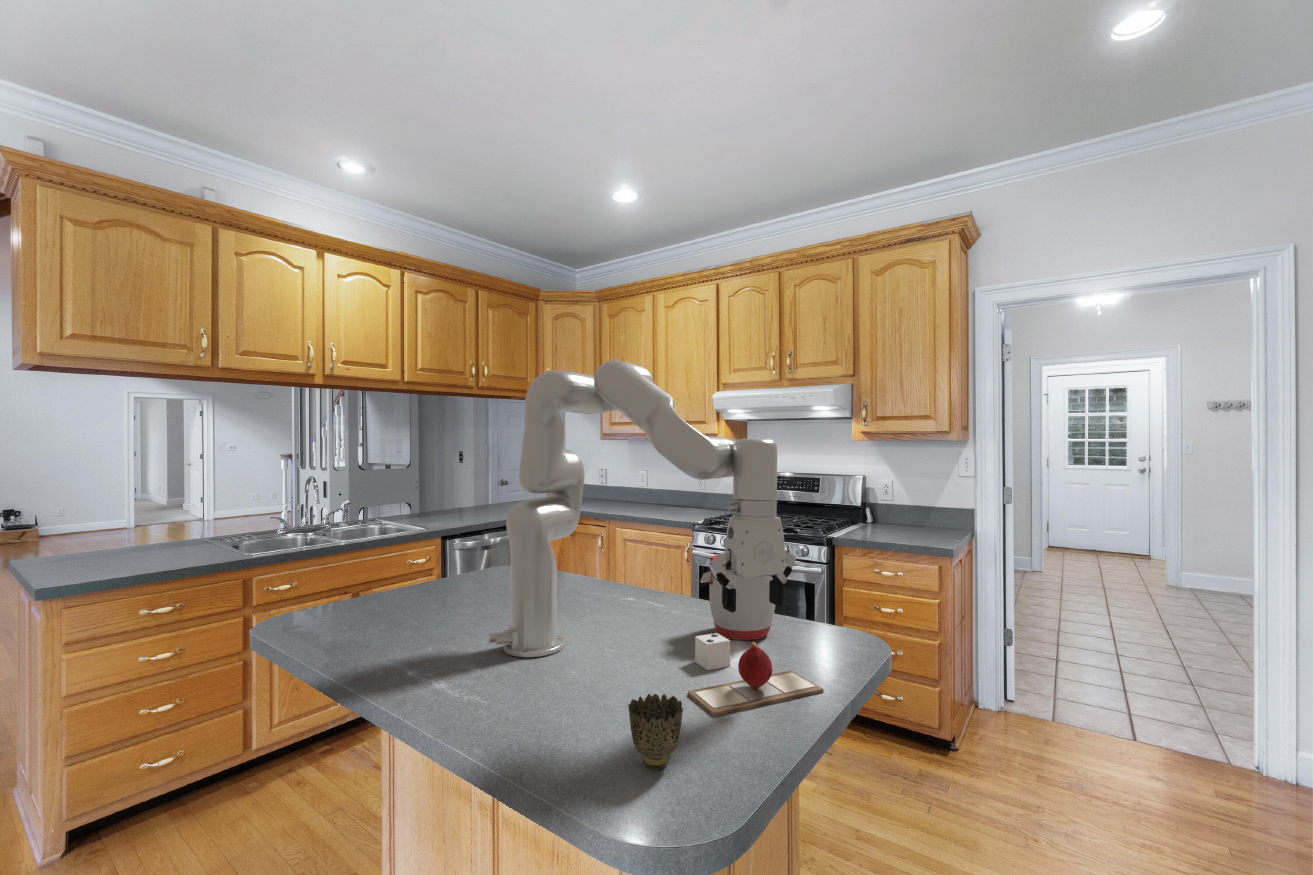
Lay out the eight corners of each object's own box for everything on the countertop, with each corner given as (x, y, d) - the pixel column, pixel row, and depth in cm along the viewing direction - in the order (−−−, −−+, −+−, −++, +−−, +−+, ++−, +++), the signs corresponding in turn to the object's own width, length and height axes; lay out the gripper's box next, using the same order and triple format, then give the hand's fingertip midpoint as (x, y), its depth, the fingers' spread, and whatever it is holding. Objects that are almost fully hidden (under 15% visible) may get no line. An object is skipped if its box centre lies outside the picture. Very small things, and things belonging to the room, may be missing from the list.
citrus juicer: (699, 622, 141) (699, 540, 141) (770, 622, 140) (770, 540, 141) (702, 644, 125) (702, 551, 125) (782, 644, 125) (782, 552, 125)
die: (707, 670, 110) (707, 643, 110) (695, 661, 115) (695, 635, 115) (730, 666, 112) (729, 639, 113) (717, 657, 117) (716, 632, 117)
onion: (775, 685, 102) (775, 639, 102) (768, 698, 96) (767, 650, 96) (743, 679, 104) (743, 635, 104) (734, 692, 99) (734, 645, 99)
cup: (627, 750, 81) (627, 693, 81) (679, 748, 82) (679, 691, 82) (629, 781, 74) (629, 718, 74) (686, 778, 74) (686, 715, 75)
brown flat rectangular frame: (714, 716, 91) (714, 711, 91) (687, 694, 100) (687, 690, 100) (823, 692, 101) (823, 687, 101) (791, 673, 109) (791, 669, 109)
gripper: (723, 513, 94) (721, 619, 94) (808, 510, 101) (806, 608, 101) (700, 508, 100) (699, 606, 100) (781, 505, 108) (780, 597, 108)
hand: (752, 607), depth 101 cm, fingers open, 9 cm apart
